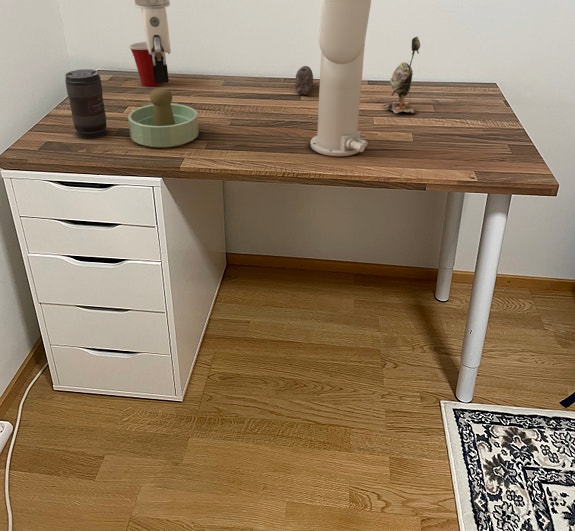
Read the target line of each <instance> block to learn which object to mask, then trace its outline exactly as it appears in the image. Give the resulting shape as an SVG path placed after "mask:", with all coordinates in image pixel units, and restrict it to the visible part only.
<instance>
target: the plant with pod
mask: <svg viewBox="0 0 575 531" xmlns="http://www.w3.org/2000/svg"><path fill="white" fill-rule="evenodd" d="M420 48H421V42H420V39H419V37H418V36H415V37H413V38H412V39H411V51H412V52H411V59H410V61H408V60H407V62H405V61H403V62H401V63H400V64H399V65H398V66H397V67H396V68H395V69H394V71H393V72H392V75H391V77H390V86H391V88H392V91H393V92H392V93H391V96H392V97H393V96H394V95H395V94H397V96H398V97H397V100H393V101H392V102H391V103H388V104H384V105H383V107H384V108H385V109H386V110H390V111H393V113H394V114H399V113H403V112H405V113H410V114H415V112H416V111H415V108H414V107H413V106H412V105H410V103H409V102H408V101H406V100H405V99H406V97H407V96H408V95H409V93H410V90H411V85H412V80H413V75H414V74H413V73H414V72H413V69H412V62H413V59H414V56H415V53H417V55H418V54H420V52H419V50H420ZM409 62H410V63H409Z"/></svg>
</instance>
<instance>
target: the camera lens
mask: <svg viewBox="0 0 575 531" xmlns="http://www.w3.org/2000/svg"><path fill="white" fill-rule="evenodd" d="M101 79H102V78H101V76H100V75H99V71H98V70H96V69H91V68H90V69H76V70H70V71H68V72H66V73H65V81H64V82H65V88H66V93H67V97H68V99H69V106H70V112H71V118H72V123H73V127H74V129H75V131H76V133H77V136H78V137H79V138H82V139H91V140H92V139H97V138H100V137H104V135H105V134H106V128H107V115H106V110H105V103H104V97H103V86H102V80H101Z"/></svg>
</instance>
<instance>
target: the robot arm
mask: <svg viewBox="0 0 575 531" xmlns="http://www.w3.org/2000/svg"><path fill="white" fill-rule="evenodd" d="M170 2H171V1H170V0H134V5H135V8H138V9H141V17H142V23H143V24H142V25H143V30H144V36H145V37H144V38H145V42H147V46H148V50H149V54H151V55H152V64H153V65H152V66H153V74H154V82H155V83H161V84H168V83H169V71H168V64H167V59H166V53H167V54H168V55H170V54H171V53H172V52H171V42H170V41H171V40H170V32H169V22H168V14H167V9H166V8H167V7H170V6H171V3H170ZM371 5H372V0H322V5H321V6H322V7H321V15H320V24H319V30H318V31H319V32H318V46H319V49H320V70H319V88H318V90H319V91H318V110H317V111H318V112H317V134H316V135H315V136H313V137H312V138H311V140H310V148H311V149H312V150H313V151H314V152H316V153H318V154H321V155H325V156H329V157H349V156H353V155H357V154H358V153H363V152H364V151H365V148H366V147H367V146H368V143H369V142H368V140H366V139H362V138H361V134H362V131H361V130H359V117H360V108H361V106H360V105H361V104H360V103H361V94H362V82H363V72H364V71H363V70H364V60H365V59H364V58H365V47H366V36H367V31H368V24H369V19H370V11H371Z"/></svg>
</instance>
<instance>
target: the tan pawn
mask: <svg viewBox="0 0 575 531" xmlns="http://www.w3.org/2000/svg"><path fill="white" fill-rule="evenodd" d="M149 99H150V101H151V103H152V105H153V126H169V125H175V121H174V116H173V112H172V107H171V104H172V102H173V94H172V92H171V90H170V89H168V88H162V87H161V88H159V87H158V88H154V89H153V90H152V91H151V92H150V95H149Z"/></svg>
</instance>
